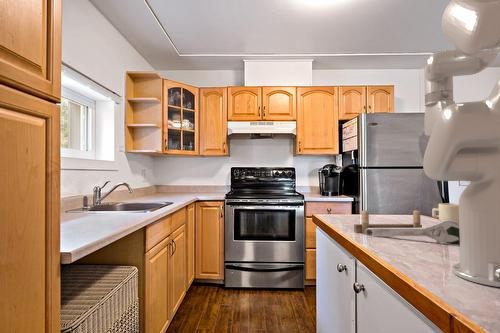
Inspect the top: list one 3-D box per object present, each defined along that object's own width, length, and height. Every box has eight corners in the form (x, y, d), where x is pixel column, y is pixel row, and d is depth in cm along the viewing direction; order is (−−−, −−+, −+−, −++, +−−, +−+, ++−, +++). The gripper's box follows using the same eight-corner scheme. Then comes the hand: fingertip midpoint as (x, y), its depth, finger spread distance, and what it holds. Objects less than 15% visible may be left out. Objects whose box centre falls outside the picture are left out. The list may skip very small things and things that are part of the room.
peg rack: (426, 234, 106) (426, 211, 106) (359, 234, 106) (358, 211, 107) (418, 231, 111) (418, 209, 111) (354, 231, 112) (353, 209, 112)
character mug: (471, 242, 94) (470, 204, 94) (472, 246, 88) (471, 206, 88) (433, 237, 100) (432, 202, 101) (432, 241, 95) (431, 204, 95)
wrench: (367, 242, 106) (464, 244, 90) (366, 243, 104) (464, 245, 88) (364, 221, 107) (459, 219, 90) (363, 222, 105) (460, 220, 89)
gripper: (468, 93, 80) (470, 155, 80) (435, 105, 95) (436, 158, 95) (442, 93, 80) (444, 155, 80) (413, 105, 95) (414, 158, 95)
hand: (440, 156), depth 87 cm, fingers closed
